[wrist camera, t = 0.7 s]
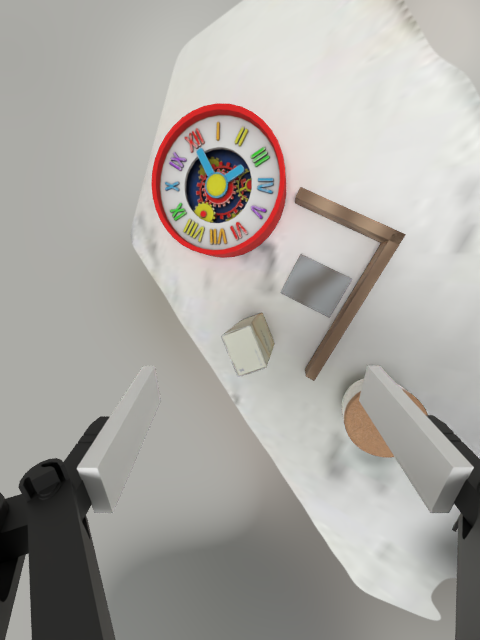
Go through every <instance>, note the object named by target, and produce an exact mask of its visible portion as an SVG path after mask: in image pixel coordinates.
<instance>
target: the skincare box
mask: <svg viewBox="0 0 480 640" xmlns="http://www.w3.org/2000/svg"><path fill="white" fill-rule="evenodd" d="M221 337H222V340H223V343H224V345H225V348H226V350H227V353H228V355H229V358H230V360H231V362H232V364H233V367H234V369H235V371H236V374H237V376H238V377H240V376H243V375H247V374H250V373H253V372H256V371H259V370H262V369H265V368H266V367H267V364H268V361H269V358H270V355H271V352H272V349H273V346H274V341H273V339H272V336H271V333H270V331H269V328H268V325H267V323H266V320H265V318H264V315H263V313H260V314H257V315H254V316H251V317H249V318H246V319H244V320H241V321H240V322H239V323H237V324H236V325H235V326H234V327H232V328H231V329H230V330H228V331H227V332H226V333H224V334H223V335H222V336H221Z"/></svg>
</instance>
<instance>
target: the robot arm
mask: <svg viewBox="0 0 480 640" xmlns="http://www.w3.org/2000/svg"><path fill="white" fill-rule="evenodd" d="M160 402H161V398H160V392H159V387H158V380H157V375H156V369H155V366H142V368H141V369H140V371H139V373H138V374H137V376H136V377H135V379H134V380H133V382H132V384H131V385H130V386H129V388H128V389H127V391H126V393H125V394H124V396H123V397H122V399H121V400H120V402H119V403H118V405H117V407H116V408H115V410H114V411H113V413H112V414H111V416H110V417H99V418H98V419H97V420H96V421H94V422H93V423H92V424H91V425H90V426H89V427H88V429H87V430H86V432H85V433H84V435H83V436H82V437H81V438H80V440H79V441H78V444H76V445H75V447H74V448H73V450H72V451H71V452H70V454H69V455H68V457H67V458H66V460H65V461H64V462H62V460H60V459H57V458H56V459H48V460H46V461H43V462H40V463H39V464H37V465H35V466H34V467H32V468H31V469H30V470H29V471H28V472H27V473H25V475H24V476H23V478H22V479H21V481H20V484H19V489H20V491H21V493H22V494H20V495H17V496H14V497H10V498H7V499H5V498H4V496H3V495H2V494H1V493H0V640H5V637H6V633H7V629H8V625H9V621H10V617H11V612H12V608H13V604H14V600H15V596H16V592H17V588H18V584H19V580H20V576H21V571H22V567H23V563H24V559H25V555H26V554H28V553H29V573H30V599H31V624H32V625H31V627H32V640H115V635H114V631H113V627H112V623H111V618H110V614H109V610H108V605H107V601H106V597H105V593H104V588H103V584H102V580H101V575H100V571H99V567H98V563H97V559H96V554H95V550H94V546H93V542H92V537H91V533H90V529H89V525H88V520H87V517H86V514H87V512H88V510H89V508H90V506H91V505H92V508H93V510H94V513H113V512H114V509H115V507H116V505H117V502H118V500H119V498H120V496H121V493H122V491H123V488H124V486H125V484H126V481H127V479H128V477H129V474H130V472H131V470H132V467H133V465H134V463H135V460H136V458H137V455H138V453H139V451H140V449H141V446H142V444H143V442H144V439H145V437H146V435H147V432H148V430H149V428H150V425H151V423H152V421H153V418H154V416H155V414H156V411H157V409H158V407H159V404H160ZM359 402H360V403H361V405H362V406H363V408H364V409H365V411H366V413H367V414H368V416H369V417H370V419H371V420H372V422H373V424H374V425H375V427H376V428H377V430H378V431H379V433H380V435H381V436H382V438H383V439H384V441H385V442H386V444H387V446H388V447H389V449H390V450H391V452H392V453H393V455H394V457H395V458H396V460H397V461H398V463H399V464H400V466H401V468H402V469H403V471H404V472H405V474H406V475H407V477H408V479H409V480H410V482H411V483H412V485H413V486H414V488H415V490H416V491H417V493H418V494H419V496H420V497H421V499H422V501H423V502H424V504H425V505H426V507H427V508H428V510H429V512H430V513H449V512H450V510H451V508H452V506H453V505H454V504H455V505H456V507H457V508H458V509H459V511H460V512H461V514H460V516H459V517H458V519H457V521H456V523H455V524H454V526H453V529H452V530H453V531H455V532H456V530H457V529H458V559H457V596H456V597H457V598H456V635H455V640H480V459H479V458H478V457H477V456H476V455H475V454H474V453H473V452H472V451H471V450H470V449H469V448H468V447H467V446H466V445H465V444H464V443H463V442H461V440H460V439H459V438H458V437H457V436H456V435H455V434H454V432H453V431H452V430H451V429H450V428H449V427H448V426H447V425H446V424H445V423H443V422H442V421H440V420H439V419H437V418H436V417H434V416H433V415H425V414H424V413H423V412H422V411H421V410H420V408H419V407H418V406H417V405H416V404H415V403H414V402H413V401H412V400H411V399H410V398H409V397H408V396H407V394H406V393H405V392H404V391H403V390H402V389H401V388H400V387H399V386H398V385H397V384H396V383H395V381H394V380H393V379H392V378H391V377H390V376H389V375H388V374H387V373H386V372H385V371H384V370H383V368H382V367H381V366H380V365H367V368H366V373H365V377H364V381H363V385H362V389H361V394H360V398H359Z"/></svg>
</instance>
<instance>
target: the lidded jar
mask: <svg viewBox="0 0 480 640" xmlns="http://www.w3.org/2000/svg"><path fill="white" fill-rule="evenodd" d="M363 381H364V379H360V380H358V381H356V382H355V383H353V384H352V385H351V386H350V387H349V388H348V389H347V391H346V393H345V394H344V397H343V400H342V415H343V419H344V424H345V428H346V431H347V433H348V436H349V437H350V439H351V440H352V441H353V443H354V444H355V445H356V446H358V447H359V448H360V449H362V450H363V451H365V452H367V453H369V454H372V455H375V456H380V457H394V455H393V453H392V452H391V450H390V449H389V447H388V446H387V444H386V442H385V441H384V439H383V438H382V436H381V435H380V433H379V431H378V430H377V428H376V427H375V425H374V424H373V422H372V420H371V419H370V417H369V416H368V414H367V413H366V411H365V409H364V408H363V406H362V405H361V403H360V402H359V398H360V394H361V389H362V385H363ZM396 384H397V383H396ZM397 385H398V384H397ZM398 386H399V387H400V388H401V389H402V390H403V391H404V392H405V393H406V394H407V396H408V397H409V398H410V399H411V400H412V401H413V402H414V403H415V404H416V405H417V406H418V407H419V408H420V410H421V411H422V412H423V413H424V414H425V415H428V414H427V412H426V409H425V408H424V406H423V405H422V404H421V402H420V401H419V400H418V399H417V398H416V397H415V396H413V395H412V394H411V393H409V392H408V391H407V390H406V389H404V388H403V387H402V386H400V385H398Z"/></svg>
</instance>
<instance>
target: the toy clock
mask: <svg viewBox="0 0 480 640" xmlns="http://www.w3.org/2000/svg"><path fill="white" fill-rule="evenodd" d="M152 194H153V200H154V204H155V208H156V211H157V213H158V216H159V218H160V220H161V222H162V223H163V225H164V227H165V228H166V230H167V231H168V232H169V233H170V234H171V235H172V237H173V238H174V239H176V240H177V241H178V242H179V243H181V244H182V245H183V246H185V247H187V248H189V249H191V250H193V251H196V252H199V253H203V254H206V255H210V256H215V257H223V258H224V257H235V256H239V255H243V254H245V253H247V252H249V251H252V250H253V249H255V248H256V247H258V246H259V245H260V244H262V243H263V242H264V241H265V240H266V239H267V238H268V237H269V236H270V234H271V233H272V231H273V230H274V229H275V227H276V225H277V223H278V221H279V220H280V218H281V215H282V212H283V208H284V205H285V198H286V175H285V165H284V159H283V154H282V151H281V148H280V145H279V143H278V140H277V139H276V137H275V135H274V134H273V132H272V130H271V129H270V128H269V126H268V125H267V124H266V123H265V122H264V121H263V120H262V119H261V118H260V117H258V116H257V115H256V114H254V113H253V112H251V111H249V110H247V109H245V108H243V107H241V106H236V105H232V104H212V105H207V106H203V107H201V108H198V109H196V110H194V111H192V112H190V113H189V114H187V115H186V116H184V117H182V118H181V119H180V120H179V121H178V122H177V123H176V124H175V125H174V126H173V127H172V128H171V130H170V131H169V132H168V134H167V135H166V136H165V138H164V140H163V142H162V143H161V145H160V147H159V150H158V152H157V155H156V158H155V161H154V166H153V171H152Z"/></svg>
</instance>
